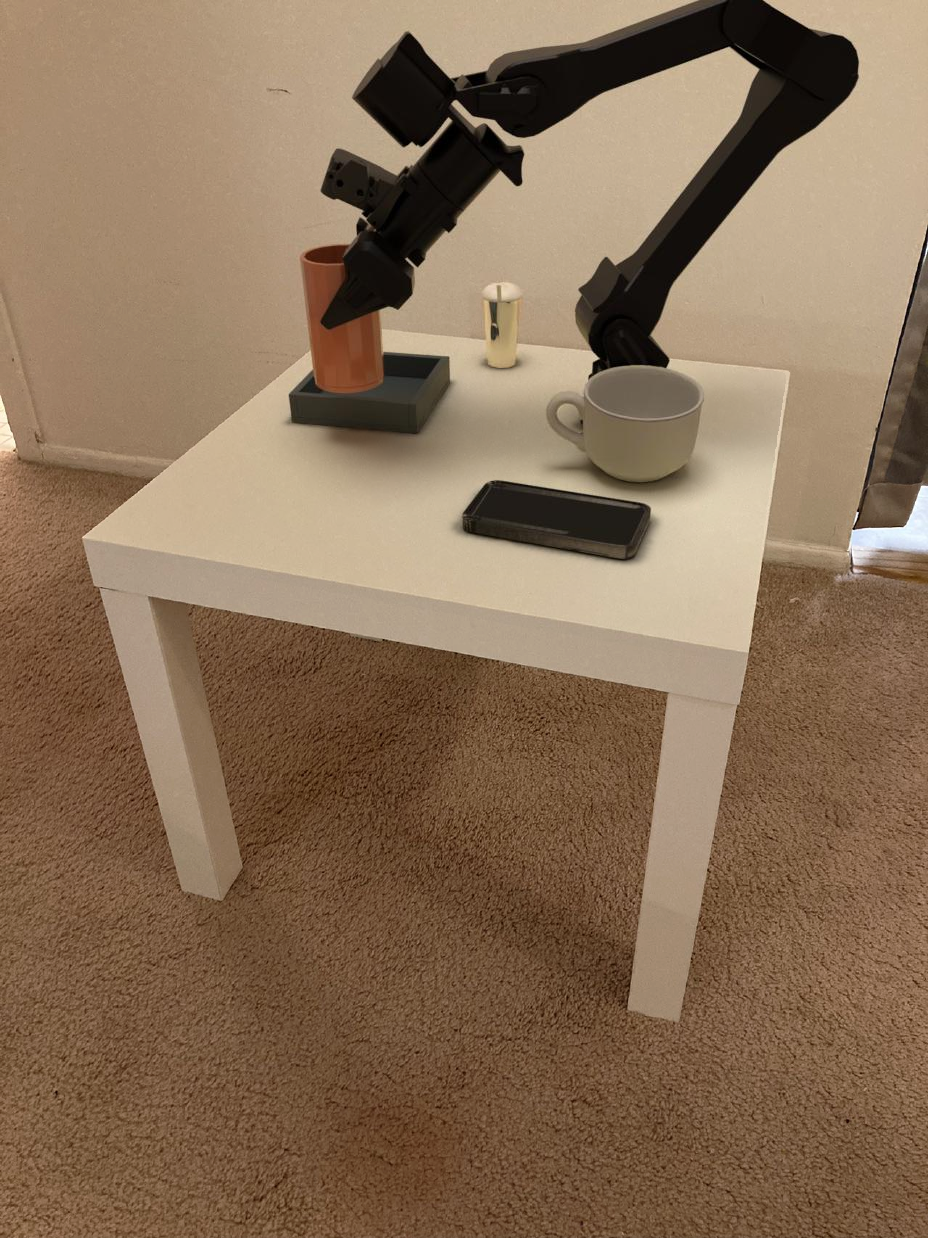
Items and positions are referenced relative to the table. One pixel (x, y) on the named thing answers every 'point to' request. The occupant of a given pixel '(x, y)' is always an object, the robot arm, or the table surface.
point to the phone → (558, 518)
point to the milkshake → (501, 322)
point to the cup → (339, 328)
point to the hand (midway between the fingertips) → (329, 312)
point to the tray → (378, 396)
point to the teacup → (634, 420)
